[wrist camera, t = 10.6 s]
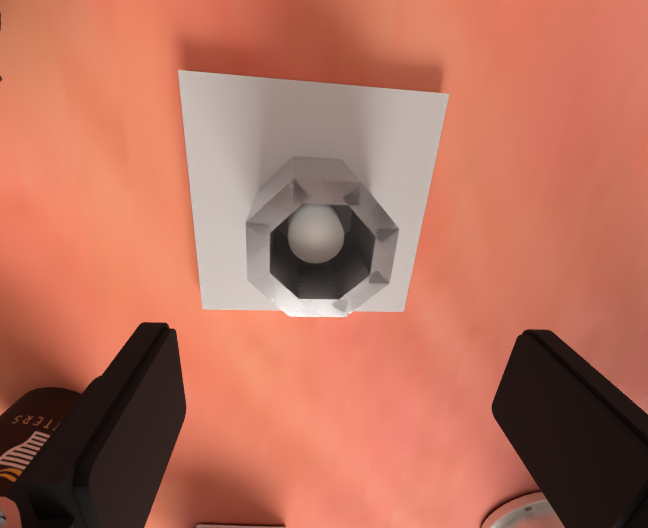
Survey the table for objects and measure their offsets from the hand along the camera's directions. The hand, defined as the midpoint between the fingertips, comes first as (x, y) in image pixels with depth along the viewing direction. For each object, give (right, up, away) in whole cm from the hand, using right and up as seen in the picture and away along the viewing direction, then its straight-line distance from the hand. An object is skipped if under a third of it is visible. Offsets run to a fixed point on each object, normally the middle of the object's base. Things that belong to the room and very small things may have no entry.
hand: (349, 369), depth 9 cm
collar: (-1, +6, +11) cm, 13 cm away
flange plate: (-2, +6, +12) cm, 14 cm away
